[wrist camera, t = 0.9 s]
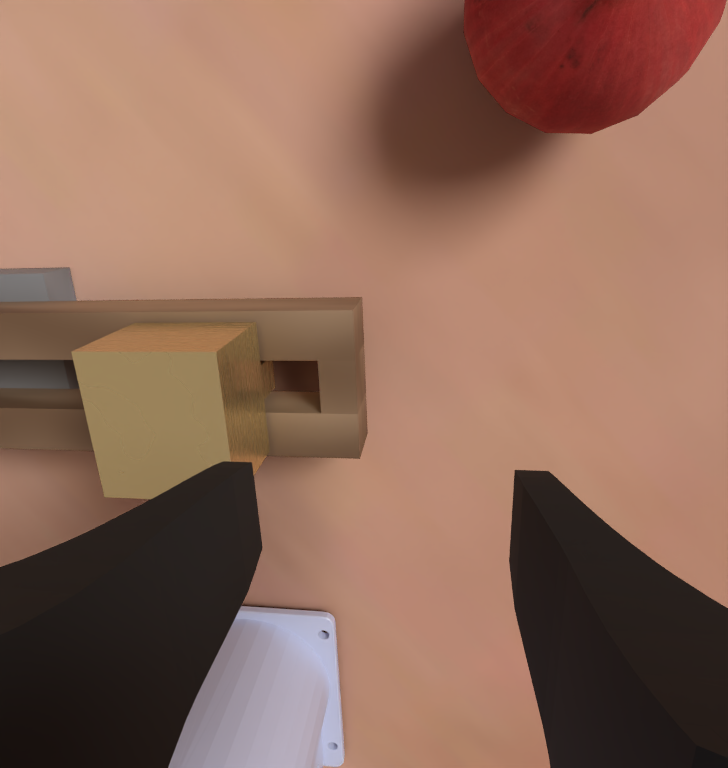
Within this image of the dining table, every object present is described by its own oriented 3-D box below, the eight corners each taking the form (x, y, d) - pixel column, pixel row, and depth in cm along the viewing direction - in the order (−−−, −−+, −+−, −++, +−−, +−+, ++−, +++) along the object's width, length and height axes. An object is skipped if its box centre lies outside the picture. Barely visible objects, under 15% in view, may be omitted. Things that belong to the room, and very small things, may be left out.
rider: (284, 428, 20) (236, 502, 15) (181, 425, 21) (104, 497, 16) (273, 309, 19) (216, 352, 14) (162, 310, 19) (71, 351, 14)
